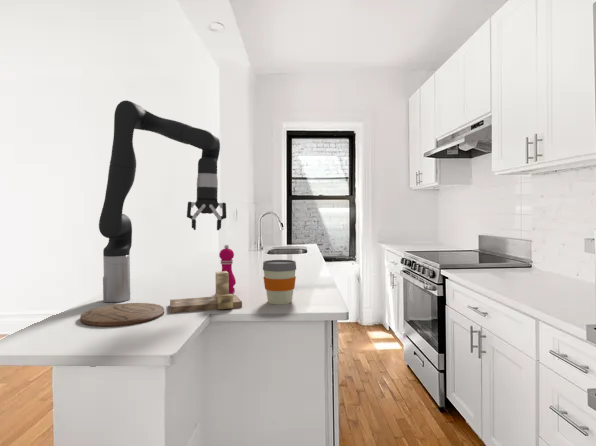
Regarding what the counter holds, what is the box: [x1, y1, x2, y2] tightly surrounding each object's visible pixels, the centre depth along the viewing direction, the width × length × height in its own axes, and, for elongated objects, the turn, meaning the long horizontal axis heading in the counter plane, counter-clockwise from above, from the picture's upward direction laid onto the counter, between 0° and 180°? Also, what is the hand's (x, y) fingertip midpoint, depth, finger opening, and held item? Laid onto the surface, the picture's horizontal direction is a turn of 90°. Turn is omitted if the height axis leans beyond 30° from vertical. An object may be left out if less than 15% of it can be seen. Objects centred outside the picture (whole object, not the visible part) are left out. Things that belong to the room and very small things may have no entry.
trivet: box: [79, 302, 165, 328], centre depth 133 cm, size 25×25×2 cm
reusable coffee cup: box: [262, 259, 297, 305], centre depth 153 cm, size 12×13×15 cm
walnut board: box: [169, 294, 243, 314], centre depth 147 cm, size 24×12×2 cm, turn 108°
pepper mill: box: [218, 244, 237, 295], centre depth 171 cm, size 7×7×20 cm
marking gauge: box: [215, 270, 234, 310], centre depth 147 cm, size 5×13×11 cm, turn 18°
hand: (206, 230), depth 153 cm, fingers open, 8 cm apart
